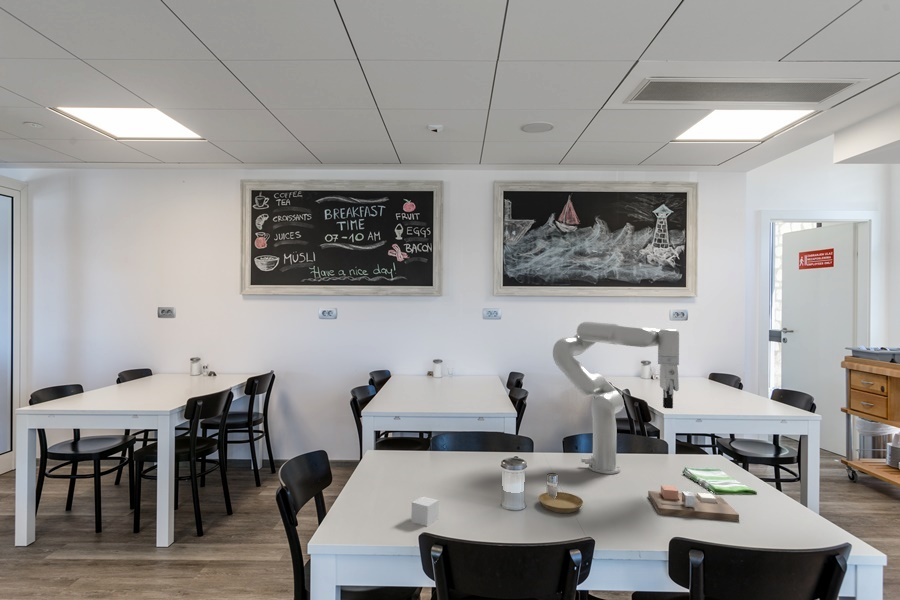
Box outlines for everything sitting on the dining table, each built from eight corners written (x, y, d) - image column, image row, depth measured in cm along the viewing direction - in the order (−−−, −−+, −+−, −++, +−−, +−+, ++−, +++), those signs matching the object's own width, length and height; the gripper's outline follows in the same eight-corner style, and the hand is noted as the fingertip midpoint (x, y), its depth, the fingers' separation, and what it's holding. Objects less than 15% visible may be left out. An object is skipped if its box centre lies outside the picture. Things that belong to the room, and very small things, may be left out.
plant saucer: (529, 502, 170) (530, 494, 170) (565, 496, 176) (565, 489, 176) (555, 519, 156) (555, 510, 156) (592, 512, 162) (592, 504, 162)
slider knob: (685, 506, 162) (685, 495, 162) (681, 501, 166) (681, 491, 166) (695, 507, 161) (695, 496, 161) (691, 502, 165) (691, 491, 165)
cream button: (701, 506, 167) (701, 497, 168) (697, 501, 172) (697, 492, 172) (716, 507, 167) (716, 498, 167) (711, 502, 171) (711, 493, 171)
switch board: (659, 514, 161) (659, 507, 161) (648, 496, 177) (648, 490, 177) (738, 521, 157) (739, 514, 157) (720, 502, 173) (720, 496, 173)
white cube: (427, 526, 149) (427, 506, 149) (411, 521, 152) (411, 502, 152) (438, 519, 154) (438, 500, 154) (422, 515, 157) (422, 496, 157)
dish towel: (721, 475, 204) (721, 466, 204) (758, 495, 181) (758, 486, 181) (681, 474, 204) (681, 466, 204) (713, 495, 181) (713, 485, 181)
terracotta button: (664, 498, 170) (664, 489, 170) (660, 493, 174) (660, 485, 174) (678, 499, 169) (678, 490, 169) (674, 494, 173) (674, 486, 173)
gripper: (684, 362, 185) (683, 412, 184) (673, 359, 199) (672, 405, 199) (663, 362, 186) (662, 411, 185) (653, 358, 201) (653, 404, 200)
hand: (667, 407), depth 192 cm, fingers closed
